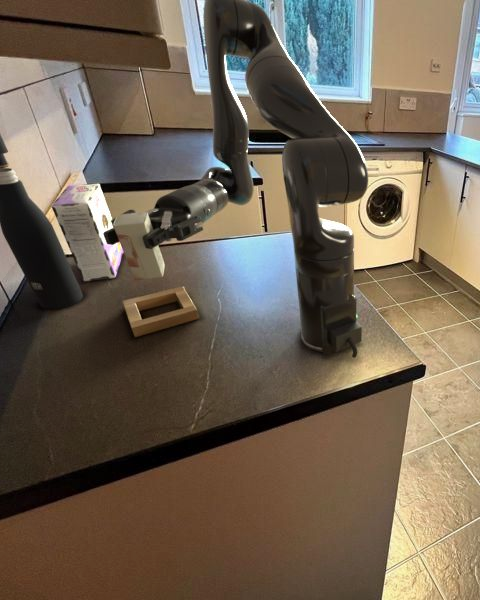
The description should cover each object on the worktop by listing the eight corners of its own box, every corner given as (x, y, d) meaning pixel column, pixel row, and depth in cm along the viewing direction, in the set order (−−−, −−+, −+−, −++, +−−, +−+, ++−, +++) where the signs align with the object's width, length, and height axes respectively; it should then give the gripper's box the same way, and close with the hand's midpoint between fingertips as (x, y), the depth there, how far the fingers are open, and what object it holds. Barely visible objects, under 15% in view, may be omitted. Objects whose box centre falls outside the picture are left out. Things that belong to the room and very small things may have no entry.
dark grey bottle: (84, 288, 76) (13, 126, 60) (81, 304, 71) (4, 133, 55) (43, 295, 73) (-43, 126, 57) (37, 312, 68) (-58, 133, 52)
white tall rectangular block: (137, 268, 67) (117, 213, 62) (165, 264, 69) (148, 211, 63) (132, 281, 63) (111, 224, 58) (162, 278, 65) (144, 222, 59)
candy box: (95, 255, 88) (66, 184, 80) (125, 251, 91) (100, 182, 82) (82, 282, 78) (48, 204, 69) (116, 278, 80) (87, 201, 71)
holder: (199, 318, 70) (197, 309, 69) (135, 337, 64) (131, 328, 63) (185, 294, 76) (182, 286, 75) (125, 309, 71) (122, 300, 70)
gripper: (147, 185, 73) (74, 214, 58) (219, 192, 72) (163, 223, 57) (158, 222, 77) (92, 258, 62) (226, 229, 76) (175, 266, 61)
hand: (126, 241), depth 60 cm, fingers closed on white tall rectangular block, 6 cm apart
